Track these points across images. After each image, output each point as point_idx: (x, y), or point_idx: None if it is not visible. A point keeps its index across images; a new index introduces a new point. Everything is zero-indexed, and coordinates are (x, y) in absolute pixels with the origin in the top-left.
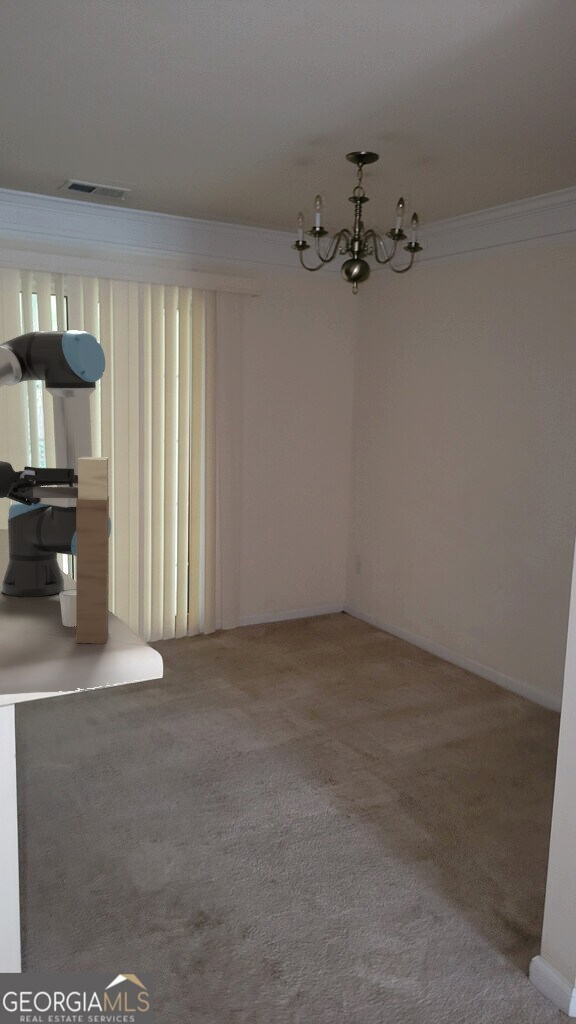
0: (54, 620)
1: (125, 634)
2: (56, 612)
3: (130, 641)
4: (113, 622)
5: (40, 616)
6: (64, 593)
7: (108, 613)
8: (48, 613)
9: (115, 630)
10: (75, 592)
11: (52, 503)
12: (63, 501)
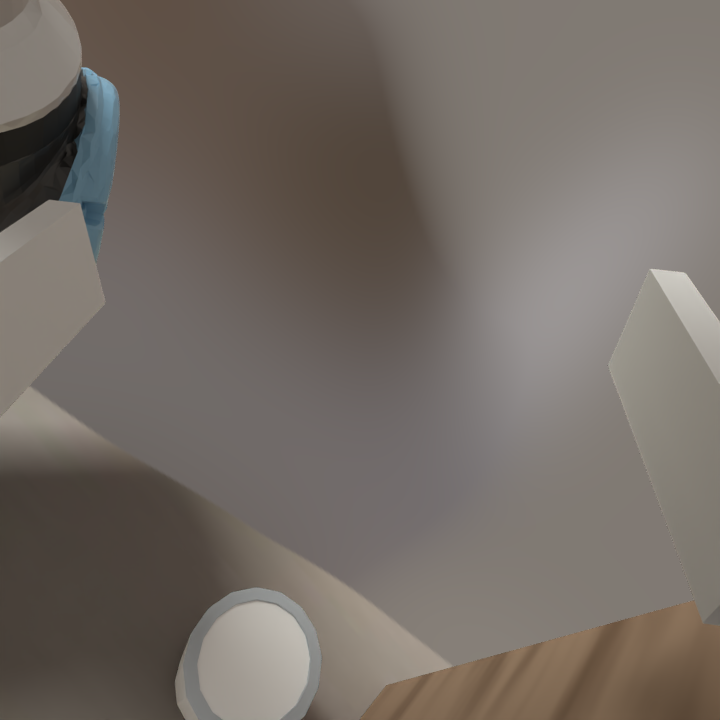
0: (121, 707)
1: (437, 667)
2: (45, 607)
3: None
4: (318, 582)
5: (18, 703)
6: (224, 710)
7: (416, 677)
8: (21, 641)
9: (386, 653)
10: (251, 659)
11: (11, 392)
12: (71, 290)
